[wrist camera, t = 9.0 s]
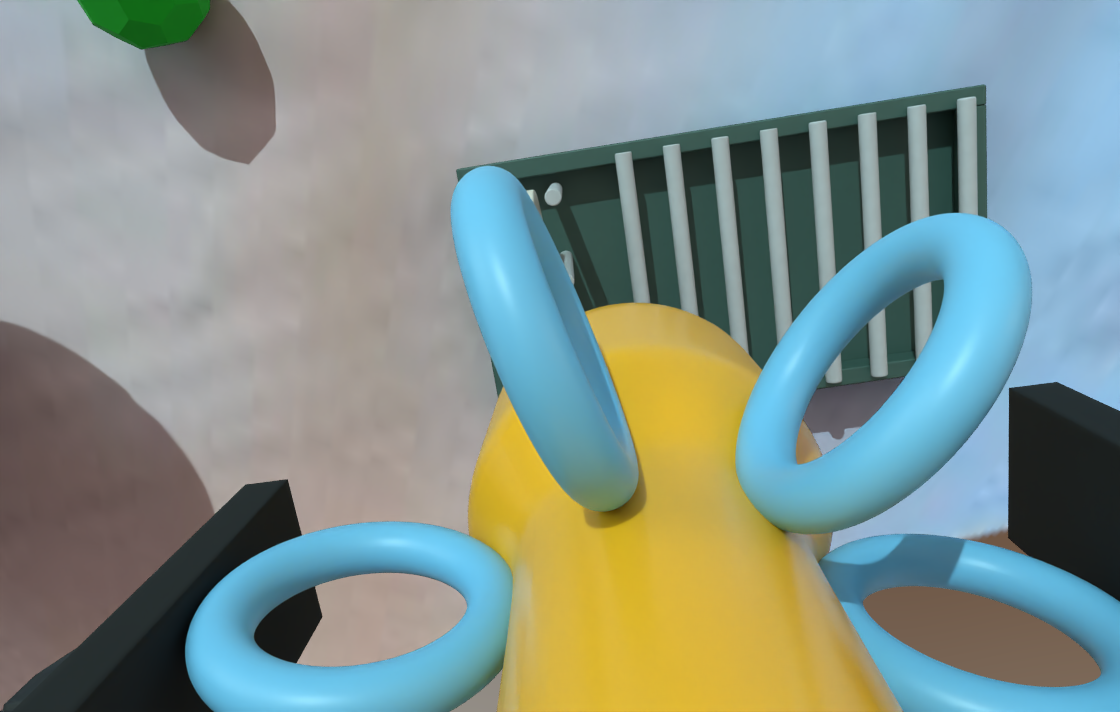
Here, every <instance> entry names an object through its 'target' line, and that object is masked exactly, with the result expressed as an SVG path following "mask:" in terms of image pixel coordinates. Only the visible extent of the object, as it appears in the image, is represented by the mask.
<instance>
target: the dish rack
mask: <svg viewBox="0 0 1120 712" xmlns="http://www.w3.org/2000/svg"><path fill="white" fill-rule="evenodd" d="M985 104H986V85H978V86H972V87H965V88H959V89H953V90H947V91H940V92H934V93H928V94H922V95H916V96H909V97H903V98H897V99H891V100H884V101H878V102H872V103H866V104H859V105H853V106H847V107H841V108H835V109H828V110H822V111H816V112H810V113H803V114H797V115H791V116H785V117H778V118H772V119H766V120H760V121H754V122H747V123H741V124H735V125H729V126H722V127H716V128H710V129H704V130H697V131H691V132H685V133H679V134H673V135H666V136H660V137H654V138H648V139H641V140H635V141H629V142H623V143H616V144H610V145H604V146H598V147H592V148H585V149H579V150H573V151H567V152H560V153H554V154H548V155H542V156H535V157H529V158H523V159H517V160H511V161H504V162H498V163H492V164H486V165H479V166H473V167H467V168H461V169H457V171H456V172H457V177H458V183H459V181H460V180H461V179H462V177H463V176H464V175H466V174H467V173H468V172H470V171H471V170H473V169H475V168H478V167H482V166H495V167H499V168H502V169H504V170H506V171H508V172H510V173H511V174H512V175H514V176H515V177H516V178H517V179H518V180H519V182H520V183H521V184H522V185H523V187H524V188H525V190H526V191H527V193H528V194H529V196H530V198H531V199H532V201H533V203H534V205H535V206H536V208H537V210H538V212H539V214H540V216H541V218H542V220H543V222H544V224H545V226H546V228H547V230H548V232H549V234H550V236H551V238H552V240H553V242H554V244H555V246H556V248H557V250H558V252H559V255H560V257H561V259H562V261H563V263H564V265H565V268H566V270H567V272H568V274H569V277H570V279H571V281H572V283H573V286H574V288H575V290H576V292H577V295H578V297H579V299H580V302H581V304H582V306H583V309H584V311H588V310H591V309H595V308H598V307H602V306H607V305H613V304H621V303H652V304H660V305H666V306H670V307H674V308H677V309H681V310H684V311H687V312H690V313H692V314H695V315H697V316H699V317H701V318H703V319H705V320H707V321H709V322H711V323H712V324H714V325H716V326H717V327H719V328H720V329H722V330H723V331H724V332H726V333H727V334H728V335H729V336H731V337H732V338H733V339H734V340H735V341H736V342H737V343H738V344H739V345H740V346H741V347H742V348H743V349H744V350H745V351H746V352H747V353H748V354H749V355H750V357H751V358H752V359H753V360H754V361H755V362H756V363H757V365H758V366H759V367H760V368H761V369H762V370H763V368H764V366H765V364H766V363H767V361H768V359H769V358H770V356H771V354H772V353H773V351H774V349H775V348H776V346H777V345H778V343H779V342H780V340H781V339H782V337H783V336H784V334H785V333H786V331H787V330H788V329H789V327H790V326H791V325H792V323H793V322H794V321H795V319H796V318H797V317H798V315H799V314H800V313H801V312H802V310H803V309H804V308H805V307H806V306H807V304H808V303H809V302H810V301H811V300H812V299H813V298H814V296H815V295H816V294H817V293H818V292H819V291H820V290H821V289H822V288H823V287H824V286H825V285H826V284H827V283H828V282H829V281H830V280H831V279H832V278H833V277H834V276H835V275H836V274H837V273H838V272H839V271H840V270H841V269H842V268H843V267H844V266H846V265H847V264H848V263H849V262H850V261H851V260H853V259H854V258H855V257H856V256H858V255H859V254H860V253H861V252H863V251H864V250H865V249H867V248H868V247H869V246H871V245H872V244H874V243H875V242H877V241H878V240H880V239H881V238H883V237H885V236H886V235H888V234H890V233H891V232H893V231H895V230H897V229H899V228H901V227H903V226H905V225H907V224H910V223H912V222H914V221H917V220H920V219H923V218H926V217H930V216H934V215H939V214H946V213H967V214H974V215H978V216H981V217H985V218H987V152H986V105H985ZM943 295H944V280H936V281H932V282H929V283H926V284H923V285H921V286H919V287H917V288H915V289H913V290H911V291H909V292H907V293H906V294H904V295H902V296H901V297H899V298H898V299H896V300H895V301H894V302H892V303H891V304H889V305H888V306H887V307H885V308H884V309H883V310H882V311H881V312H879V313H878V314H877V315H876V316H875V317H874V318H872V319H871V320H870V321H869V322H868V323H867V324H866V325H865V326H864V327H863V328H862V329H861V330H860V331H859V332H858V333H857V334H856V335H855V336H854V337H853V338H852V340H851V341H850V342H849V343H848V344H847V345H846V347H845V348H844V349H843V350H842V351H841V353H840V354H839V355H838V357H837V358H836V359H835V361H834V362H833V363H832V365H831V366H830V368H829V369H828V371H827V372H826V374H825V375H824V377H823V378H822V380H821V382H820V383H819V385H818V387H817V389H821V388H828V387H835V386H842V385H849V384H856V383H863V382H870V381H877V380H884V379H891V378H898V377H905V376H906V375H907V374H908V372H909V371H910V369H911V368H912V366H913V365H914V363H915V362H916V360H917V358H918V357H919V355H920V353H921V352H922V350H923V348H924V346H925V344H926V342H927V340H928V339H929V336H930V334H931V332H932V330H933V328H934V325H935V323H936V320H937V318H938V315H939V312H940V308H941V305H942V301H943ZM491 362H492V367H493V372H494V378H495V383H496V389H497V394H498V398H499V395H500V393H501V391H502V388H503V384H502V382H501V379H500V377H499V375H498V373H497V370H496V368H495V366H494V363H493V361H492V358H491Z"/></svg>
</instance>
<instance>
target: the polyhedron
mask: <svg viewBox="0 0 1120 712" xmlns="http://www.w3.org/2000/svg"><path fill="white" fill-rule="evenodd" d="M77 1H78V2H79V4H80V5H81V7H82V8H83V10H84V11H85V13H86V15H87V16H88V18H89V19H90V21H91V22H92V24H93V25H94V26H96V27H98V28H100V29H102V30H103V31H105V32H107V33H109V34H111V35H112V36H114V37H116V38H118V39H120V40H122V41H124V42H126V43H129V44H131V45H133V46H135V47H137V48H139V49H147V48H153V47H159V46H165V45H169V44H174V43H179V42H183V41H187V40H188V39H189V38H190V37H191V36H192V34H193V33H194V32H195V30H196V29H197V28H198V26H199V25H200V24H201V22H202V21H203V20H204V18H205V16H206V15H207V13H208V11H209V10H210V0H77Z"/></svg>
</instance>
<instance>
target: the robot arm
mask: <svg viewBox="0 0 1120 712" xmlns="http://www.w3.org/2000/svg"><path fill="white" fill-rule="evenodd" d="M299 536H302V534H301V530H300V526H299V522H298V518H297V515H296V511H295V507H294V503H293V499H292V495H291V491H290V487H289V483H288V479H287V480H279V481H271V482H263V483H255V484H247V485H245V486H244V487H243V488H242V489H240V490H239V491H238V492H237V493H236V494H235V495H234V496H233V497H232V498H231V499H230V500H229V501H228V502H227V503H226V504H225V505H224V506H223V507H222V508H221V509H220V510H219V511H218V512H217V513H216V514H215V515H214V516H213V517H212V518H211V519H210V520H209V521H208V522H206V523H205V524H204V525H203V526H202V527H201V528H200V529H199V530H198V531H197V532H196V533H195V534H194V535H193V536H192V537H191V538H190V539H189V540H188V541H187V542H186V543H185V544H184V545H183V546H182V547H181V548H180V549H179V550H178V551H177V552H176V553H175V554H173V555H172V556H171V557H170V558H169V559H168V560H167V561H166V562H165V563H164V564H163V565H162V566H161V567H160V568H159V569H158V570H157V571H156V572H155V573H154V574H153V575H152V576H151V577H150V578H149V579H148V580H147V581H146V582H145V583H144V584H143V585H142V586H141V587H139V588H138V589H137V590H136V591H135V592H134V593H133V594H132V595H131V596H130V597H129V598H128V599H127V600H126V601H125V602H124V603H123V604H122V605H121V606H120V607H119V608H118V609H117V610H116V611H115V612H114V613H113V614H112V615H111V616H110V617H109V618H108V619H106V620H105V621H104V622H103V623H102V624H101V625H100V626H99V627H98V628H97V629H96V630H95V631H94V632H93V633H92V634H91V635H90V636H89V637H88V638H87V639H86V640H85V641H84V642H83V643H82V644H81V645H80V646H79V647H78V648H76V649H75V650H73V651H72V652H70V653H68V654H67V655H65V656H64V657H62V658H61V659H59V660H58V661H56V662H55V663H53V664H52V665H50V666H49V667H47V668H46V669H44V670H42V671H41V672H39V673H38V674H36V675H35V676H34V677H33V678H32V679H31V680H30V681H29V682H28V683H27V684H25V685H24V686H23V687H22V688H21V689H20V690H19V691H18V692H17V693H16V694H15V695H14V696H13V697H12V698H11V699H10V700H9V701H7V702H6V703H5V704H4V708H3V711H0V712H214V711H213V710H211V709H210V708H209V707H208V706H207V705H206V704H205V702H204V701H203V700H202V699H201V698H200V696H199V695H198V693H197V692H196V690H195V688H194V687H193V685H192V683H191V680H190V678H189V675H188V671H187V667H186V660H185V645H186V638H187V634H188V630H189V627H190V624H191V621H192V619H193V617H194V615H195V613H196V611H197V609H198V608H199V606H200V604H201V603H202V601H203V600H204V599H205V597H206V596H207V595H208V594H209V592H210V591H211V590H212V589H213V588H214V587H215V586H216V585H217V584H218V583H219V582H220V581H221V580H222V579H223V578H224V577H225V576H226V575H228V574H229V573H230V572H231V571H233V570H234V569H235V568H237V567H238V566H240V565H241V564H243V563H244V562H246V561H247V560H249V559H250V558H252V557H254V556H256V555H257V554H259V553H261V552H263V551H265V550H267V549H269V548H271V547H273V546H276V545H278V544H280V543H283V542H285V541H288V540H291V539H293V538H296V537H299ZM1008 538H1009V539H1010V540H1011V541H1012V542H1013V543H1015V544H1016V545H1017V546H1018V547H1019V548H1020V549H1021V550H1023V551H1024V552H1025V553H1026V554H1027V555H1028V556H1029V557H1032V558H1035V559H1038V560H1040V561H1043V562H1045V563H1048V564H1050V565H1053V566H1055V567H1058V568H1060V569H1062V570H1064V571H1067V572H1069V573H1071V574H1073V575H1075V576H1077V577H1079V578H1081V579H1083V580H1085V581H1087V582H1089V583H1090V584H1092V585H1094V586H1096V587H1097V588H1099V589H1101V590H1102V591H1104V592H1106V593H1107V594H1109V595H1110V596H1112V597H1114V598H1115V599H1116V600H1118V601H1119V602H1120V411H1118V410H1116V409H1114V408H1112V407H1110V406H1107V405H1105V404H1103V403H1101V402H1099V401H1097V400H1094V399H1092V398H1090V397H1088V396H1086V395H1084V394H1081V393H1079V392H1077V391H1075V390H1073V389H1071V388H1069V387H1066V386H1064V385H1062V384H1060V383H1058V382H1054V383H1046V384H1038V385H1030V386H1022V387H1014V388H1009V497H1008ZM321 618H322V613H321V609H320V605H319V601H318V597H317V593H316V589H315V586H314V587H311V588H309V589H307V590H304V591H302V592H300V593H298V594H296V595H294V596H292V597H291V598H289V599H287V600H285V601H284V602H282V603H281V604H279V605H278V606H277V607H275V608H274V609H273V610H272V611H270V612H269V613H268V614H267V615H266V616H265V617H264V618H263V619H262V620H261V622H260V623H259V624H258V626H257V628H256V630H255V632H254V640H255V642H256V644H257V645H258V646H259V647H260V648H261V649H262V650H263V651H265V652H266V653H268V654H270V655H272V656H274V657H276V658H278V659H281V660H284V661H288V662H292V663H297V661H298V659H299V658H300V656H301V654H302V652H303V650H304V649H305V647H306V645H307V643H308V642H309V640H310V638H311V636H312V634H313V633H314V631H315V629H316V627H317V626H318V624H319V622H320V620H321Z"/></svg>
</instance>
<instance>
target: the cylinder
mask: <svg viewBox="0 0 1120 712" xmlns="http://www.w3.org/2000/svg"><path fill="white" fill-rule="evenodd" d="M451 225H452V233H453V239H454V244H455V249H456V254H457V258H458V262H459V266H460V269H461V273H462V277H463V280H464V283H465V287H466V290H467V293H468V296H469V299H470V302H471V305H472V308H473V311H474V314H475V317H476V320H477V322H478V325H479V328H480V330H481V333H482V336H483V338H484V341H485V343H486V346H487V349H488V351H489V354H490V356H491V358H492V361H493V363H494V366H495V368H496V370H497V373H498V375H499V377H500V379H501V382H502V384H503V388H502V391H501V393H500V395H499V398H498V401H497V403H496V406H495V409H494V412H493V415H492V418H491V421H490V424H489V427H488V430H487V433H486V436H485V439H484V442H483V445H482V448H481V450H480V454H479V457H478V460H477V463H476V466H475V470H474V473H473V478H472V483H471V488H470V495H469V504H468V528H469V535H466V534H464V533H461V532H458V531H455V530H452V529H448V528H444V527H440V526H435V525H429V524H422V523H413V522H368V523H358V524H350V525H344V526H338V527H333V528H328V529H324V530H320V531H316V532H312V533H309V534H305V535H302V536H299V537H296V538H293V539H291V540H288V541H285V542H283V543H280V544H278V545H276V546H273V547H271V548H269V549H267V550H265V551H263V552H261V553H259V554H257V555H256V556H254V557H252V558H250V559H249V560H247V561H246V562H244V563H243V564H241V565H240V566H238V567H237V568H235V569H234V570H233V571H231V572H230V573H229V574H228V575H226V576H225V577H224V578H223V579H222V580H221V581H220V582H219V583H218V584H217V585H216V586H215V587H214V588H213V589H212V590H211V591H210V592H209V594H208V595H207V596H206V597H205V599H204V600H203V601H202V603H201V604H200V606H199V608H198V609H197V611H196V613H195V615H194V617H193V619H192V621H191V624H190V627H189V630H188V634H187V638H186V645H185V660H186V667H187V671H188V675H189V678H190V680H191V683H192V685H193V687H194V688H195V690H196V692H197V693H198V695H199V696H200V698H201V699H202V700H203V701H204V702H205V704H206V705H207V706H208V707H209V708H210V709H211V710H213V711H214V712H450V711H451V710H453V709H455V708H457V707H458V706H460V705H461V704H463V703H465V702H466V701H467V700H469V699H470V698H471V697H473V696H474V695H475V694H477V693H478V692H479V691H481V690H482V689H483V688H484V687H485V686H486V685H487V684H489V683H490V682H491V681H492V680H493V679H494V678H495V676H496V675H497V674H498V673H499V672H500V671H501V670H502V668H503V670H502V677H501V684H500V691H499V699H498V706H497V712H1120V602H1119V601H1118V600H1116V599H1115V598H1114V597H1112V596H1110V595H1109V594H1107V593H1106V592H1104V591H1102V590H1101V589H1099V588H1097V587H1096V586H1094V585H1092V584H1090V583H1089V582H1087V581H1085V580H1083V579H1081V578H1079V577H1077V576H1075V575H1073V574H1071V573H1069V572H1067V571H1064V570H1062V569H1060V568H1058V567H1055V566H1053V565H1050V564H1048V563H1045V562H1043V561H1040V560H1038V559H1035V558H1032V557H1029V556H1026V555H1023V554H1020V553H1017V552H1014V551H1011V550H1007V549H1004V548H1000V547H997V546H992V545H989V544H984V543H980V542H975V541H971V540H965V539H959V538H953V537H946V536H937V535H925V534H891V535H881V536H874V537H868V538H863V539H859V540H856V541H853V542H850V543H847V544H845V545H842V546H840V547H838V548H836V549H834V550H833V551H831V552H830V553H829V550H830V546H831V540H832V533H833V532H835V531H839V530H843V529H846V528H849V527H852V526H855V525H857V524H860V523H862V522H865V521H867V520H869V519H871V518H873V517H875V516H877V515H879V514H881V513H883V512H884V511H886V510H888V509H889V508H891V507H893V506H894V505H896V504H897V503H899V502H900V501H902V500H903V499H905V498H906V497H907V496H909V495H910V494H911V493H913V492H914V491H915V490H917V489H918V488H919V487H920V486H922V485H923V484H924V483H925V482H926V481H928V480H929V479H930V478H931V477H932V476H933V475H934V474H935V473H937V472H938V471H939V470H940V469H941V468H942V467H943V466H944V465H945V464H946V463H947V462H948V461H949V460H950V459H951V458H952V457H953V456H954V454H955V453H956V452H957V451H958V450H959V449H960V448H961V447H962V446H963V444H964V443H965V442H966V441H967V440H968V438H969V437H970V436H971V435H972V434H973V432H974V431H975V430H976V428H977V427H978V426H979V424H980V423H981V422H982V420H983V419H984V418H985V416H986V415H987V413H988V412H989V410H990V409H991V407H992V406H993V404H994V403H995V401H996V399H997V398H998V396H999V394H1000V393H1001V391H1002V389H1003V387H1004V385H1005V384H1006V382H1007V380H1008V378H1009V376H1010V374H1011V372H1012V370H1013V367H1014V365H1015V363H1016V361H1017V358H1018V356H1019V353H1020V350H1021V348H1022V345H1023V342H1024V339H1025V335H1026V332H1027V328H1028V323H1029V318H1030V312H1031V304H1032V282H1031V274H1030V269H1029V265H1028V262H1027V259H1026V257H1025V254H1024V252H1023V250H1022V249H1021V247H1020V245H1019V244H1018V242H1017V241H1016V240H1015V238H1014V237H1013V236H1012V235H1011V234H1010V233H1009V232H1008V231H1007V230H1006V229H1004V228H1003V227H1002V226H1000V225H999V224H997V223H995V222H994V221H992V220H990V219H987V218H985V217H981V216H978V215H974V214H967V213H946V214H939V215H934V216H930V217H926V218H923V219H920V220H917V221H914V222H912V223H910V224H907V225H905V226H903V227H901V228H899V229H897V230H895V231H893V232H891V233H890V234H888V235H886V236H885V237H883V238H881V239H880V240H878V241H877V242H875V243H874V244H872V245H871V246H869V247H868V248H867V249H865V250H864V251H863V252H861V253H860V254H859V255H858V256H856V257H855V258H854V259H853V260H851V261H850V262H849V263H848V264H847V265H846V266H844V267H843V268H842V269H841V270H840V271H839V272H838V273H837V274H836V275H835V276H834V277H833V278H832V279H831V280H830V281H829V282H828V283H827V284H826V285H825V286H824V287H823V288H822V289H821V290H820V291H819V292H818V293H817V294H816V295H815V296H814V298H813V299H812V300H811V301H810V302H809V303H808V304H807V306H806V307H805V308H804V309H803V310H802V312H801V313H800V314H799V315H798V317H797V318H796V319H795V321H794V322H793V323H792V325H791V326H790V327H789V329H788V330H787V331H786V333H785V334H784V336H783V337H782V339H781V340H780V342H779V343H778V345H777V346H776V348H775V349H774V351H773V353H772V354H771V356H770V358H769V359H768V361H767V363H766V364H765V366H764V368H763V370H762V369H761V368H760V367H759V366H758V365H757V363H756V362H755V361H754V360H753V359H752V358H751V357H750V355H749V354H748V353H747V352H746V351H745V350H744V349H743V348H742V347H741V346H740V345H739V344H738V343H737V342H736V341H735V340H734V339H733V338H732V337H731V336H729V335H728V334H727V333H726V332H724V331H723V330H722V329H720V328H719V327H717V326H716V325H714V324H712V323H711V322H709V321H707V320H705V319H703V318H701V317H699V316H697V315H695V314H692V313H690V312H687V311H684V310H681V309H677V308H674V307H670V306H666V305H660V304H652V303H621V304H613V305H607V306H602V307H598V308H595V309H591V310H588V311H584V309H583V306H582V304H581V302H580V299H579V297H578V295H577V292H576V290H575V288H574V286H573V283H572V281H571V279H570V277H569V274H568V272H567V270H566V268H565V265H564V263H563V261H562V259H561V257H560V255H559V252H558V250H557V248H556V246H555V244H554V242H553V240H552V238H551V236H550V234H549V232H548V230H547V228H546V226H545V224H544V222H543V220H542V218H541V216H540V214H539V212H538V210H537V208H536V206H535V205H534V203H533V201H532V199H531V198H530V196H529V194H528V193H527V191H526V190H525V188H524V187H523V185H522V184H521V183H520V182H519V180H518V179H517V178H516V177H515V176H514V175H512V174H511V173H510V172H508V171H506V170H504V169H502V168H499V167H495V166H482V167H478V168H475V169H473V170H471V171H470V172H468V173H467V174H466V175H464V176H463V177H462V179H461V180H460V181H459V183H458V184H457V186H456V188H455V190H454V193H453V197H452V202H451ZM936 280H944V295H943V301H942V305H941V308H940V312H939V315H938V318H937V320H936V323H935V325H934V328H933V330H932V332H931V334H930V336H929V339H928V340H927V342H926V344H925V346H924V348H923V350H922V352H921V353H920V355H919V357H918V358H917V360H916V362H915V363H914V365H913V366H912V368H911V369H910V371H909V372H908V374H907V375H906V377H905V378H904V379H903V381H902V382H901V383H900V385H899V386H898V387H897V389H896V390H895V391H894V393H893V394H892V395H891V396H890V397H889V399H888V400H887V401H886V402H885V403H884V404H883V406H882V407H881V408H880V409H879V410H878V411H877V412H876V413H875V414H874V415H873V416H872V417H871V418H870V419H869V420H868V421H867V422H866V423H865V424H864V425H863V426H862V427H861V428H860V429H859V430H858V431H856V432H855V433H854V434H853V435H852V436H850V437H849V438H848V439H847V440H845V441H844V442H843V443H842V444H840V445H839V446H837V447H836V448H834V449H833V450H831V451H830V452H828V453H827V454H825V455H823V456H822V453H821V451H820V448H819V446H818V444H817V442H816V440H815V438H814V436H813V435H812V433H811V431H810V430H809V428H808V426H807V425H806V423H805V422H804V420H803V416H804V414H805V411H806V409H807V407H808V404H809V402H810V400H811V398H812V396H813V394H814V392H815V390H816V389H817V387H818V385H819V383H820V382H821V380H822V378H823V377H824V375H825V374H826V372H827V371H828V369H829V368H830V366H831V365H832V363H833V362H834V361H835V359H836V358H837V357H838V355H839V354H840V353H841V351H842V350H843V349H844V348H845V347H846V345H847V344H848V343H849V342H850V341H851V340H852V338H853V337H854V336H855V335H856V334H857V333H858V332H859V331H860V330H861V329H862V328H863V327H864V326H865V325H866V324H867V323H868V322H869V321H870V320H871V319H872V318H874V317H875V316H876V315H877V314H878V313H879V312H881V311H882V310H883V309H884V308H885V307H887V306H888V305H889V304H891V303H892V302H894V301H895V300H896V299H898V298H899V297H901V296H902V295H904V294H906V293H907V292H909V291H911V290H913V289H915V288H917V287H919V286H921V285H923V284H926V283H929V282H932V281H936ZM370 573H406V574H414V575H420V576H425V577H429V578H432V579H435V580H438V581H441V582H443V583H445V584H447V585H449V586H451V587H453V588H454V589H456V590H457V591H458V592H459V593H460V594H461V595H462V596H463V597H464V598H465V600H466V602H467V610H466V613H465V615H464V616H463V618H462V619H461V620H460V622H459V623H458V624H457V625H456V626H455V627H454V628H452V629H451V630H450V631H449V632H448V633H446V634H445V635H443V636H442V637H440V638H439V639H437V640H435V641H434V642H432V643H430V644H428V645H426V646H424V647H422V648H420V649H417V650H415V651H412V652H410V653H407V654H404V655H401V656H398V657H395V658H391V659H387V660H383V661H379V662H374V663H369V664H362V665H354V666H342V667H320V666H308V665H301V664H296V663H292V662H288V661H284V660H281V659H278V658H276V657H274V656H272V655H270V654H268V653H266V652H265V651H263V650H262V649H261V648H260V647H259V646H258V645H257V644H256V642H255V640H254V632H255V630H256V628H257V626H258V624H259V623H260V622H261V620H262V619H263V618H264V617H265V616H266V615H267V614H268V613H269V612H270V611H272V610H273V609H274V608H275V607H277V606H278V605H279V604H281V603H282V602H284V601H285V600H287V599H289V598H291V597H292V596H294V595H296V594H298V593H300V592H302V591H304V590H307V589H309V588H311V587H314V586H317V585H319V584H322V583H325V582H329V581H332V580H336V579H340V578H344V577H349V576H355V575H361V574H370ZM901 586H927V587H938V588H945V589H952V590H958V591H962V592H967V593H971V594H975V595H979V596H982V597H986V598H989V599H992V600H996V601H998V602H1001V603H1004V604H1007V605H1009V606H1012V607H1014V608H1017V609H1019V610H1022V611H1024V612H1026V613H1028V614H1031V615H1033V616H1034V617H1037V618H1039V619H1040V620H1043V621H1044V622H1046V623H1048V624H1050V625H1051V626H1053V627H1055V628H1056V629H1058V630H1060V631H1061V632H1063V633H1064V634H1066V635H1067V636H1069V637H1070V638H1071V639H1073V640H1074V641H1075V642H1076V643H1078V644H1079V645H1080V646H1081V647H1082V648H1083V649H1084V650H1086V651H1087V652H1088V653H1089V654H1090V656H1091V657H1092V658H1093V659H1094V660H1095V662H1096V663H1097V665H1098V666H1099V668H1100V670H1101V675H1100V677H1099V678H1097V679H1096V680H1094V681H1092V682H1089V683H1086V684H1082V685H1078V686H1070V687H1038V686H1028V685H1020V684H1014V683H1009V682H1003V681H999V680H994V679H990V678H986V677H982V676H979V675H976V674H972V673H969V672H966V671H963V670H960V669H957V668H954V667H952V666H949V665H947V664H944V663H942V662H939V661H937V660H934V659H932V658H930V657H928V656H926V655H924V654H922V653H920V652H918V651H916V650H914V649H913V648H911V647H909V646H907V645H906V644H904V643H902V642H901V641H899V640H898V639H896V638H895V637H893V636H892V635H890V634H889V633H888V632H886V631H885V630H884V629H883V628H881V627H880V626H879V625H878V624H877V623H876V622H875V621H874V620H873V619H872V618H871V617H870V616H869V614H868V613H867V612H866V610H865V609H864V606H863V600H864V599H865V598H866V597H867V596H869V595H870V594H872V593H874V592H877V591H880V590H883V589H887V588H893V587H901Z"/></svg>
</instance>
